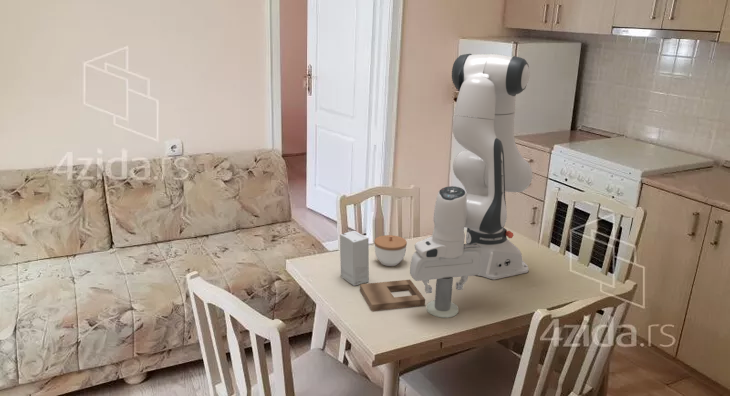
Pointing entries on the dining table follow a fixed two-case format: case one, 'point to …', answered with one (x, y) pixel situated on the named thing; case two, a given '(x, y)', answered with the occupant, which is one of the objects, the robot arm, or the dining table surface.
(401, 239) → the lidded jar
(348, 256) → the skincare box
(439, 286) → the grey cylinder
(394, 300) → the pocket board
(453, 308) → the saucer
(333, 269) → the dining table surface
